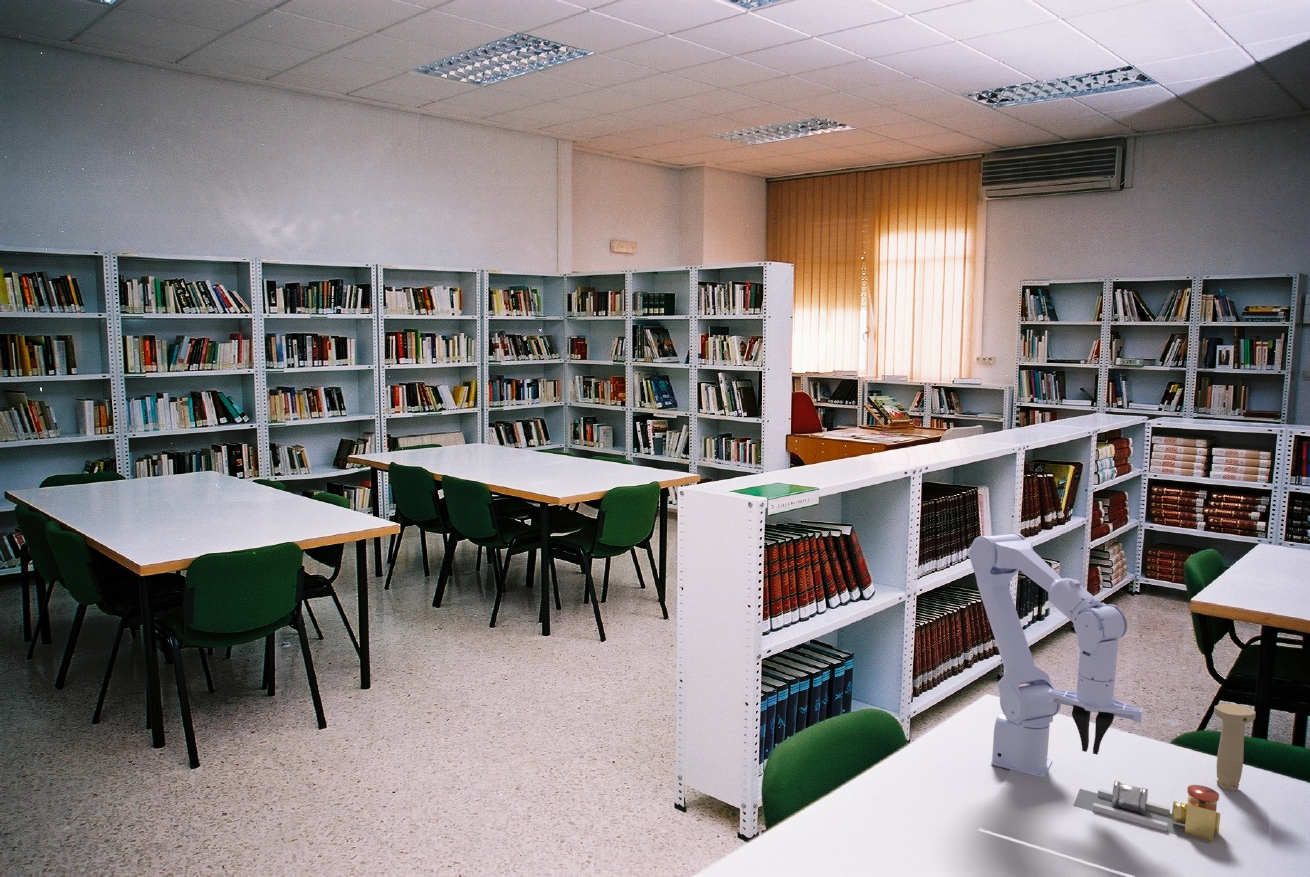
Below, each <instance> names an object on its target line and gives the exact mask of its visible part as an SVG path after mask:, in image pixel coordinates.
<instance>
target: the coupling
mask: <svg viewBox="0 0 1310 877" xmlns="http://www.w3.org/2000/svg"><path fill="white" fill-rule="evenodd" d="M1112 792H1113V794H1112V806H1113V807H1116V808H1117V807H1120V808H1124V809H1127V810H1131V811H1134V812H1138V813H1139V814H1142V815H1145V814H1146V807H1147V801H1148V797H1149V788H1145V787H1142V788H1141V787H1137V786H1134V785H1130V784H1127V783H1123V782H1121V781H1119V780H1114V783H1113V788H1112Z"/></svg>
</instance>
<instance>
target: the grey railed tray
mask: <svg viewBox="0 0 1310 877" xmlns="http://www.w3.org/2000/svg"><path fill="white" fill-rule="evenodd" d="M1112 794H1113V791H1109V790H1107V789H1102V788H1098V790H1097V792H1095V791H1091V790H1087V789H1082V788H1079V790H1078V793H1077V795H1076V798H1075V801H1074V803H1073V806H1074V807H1077V808H1081V809H1083V810H1087V811H1091V812H1095V813H1097V814H1101V815H1105V816H1109V817H1111V818H1116V819H1119V820H1123V821H1127V822H1131V823H1134V824H1137V825H1141V826H1144V827H1148V828H1151V829H1155V830H1157V831H1162V832H1165V833H1170V834H1173V835H1177V836H1180V837H1183V838H1187V839H1191V840H1194V841H1198V842H1202V843H1205V844H1209V845H1210V842H1211V841H1208V840H1204V839H1200V838H1197V837H1193V836H1190V835H1186V834H1184V833H1185V824H1181V823H1177V822H1174V821H1172V812H1171V807H1170V806H1166V805H1161V804H1158V803H1155V802H1151V801H1148V800H1147V807H1146V814H1145V815H1142V814H1139V813H1138V812H1134V811H1131V810H1127V809H1124V808H1120V807H1117V808H1116V807H1113V806H1112Z"/></svg>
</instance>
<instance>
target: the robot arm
mask: <svg viewBox="0 0 1310 877" xmlns="http://www.w3.org/2000/svg"><path fill="white" fill-rule="evenodd" d="M968 556H969V559H970V560H969V561H970V563H971V566H972V569H973V573H974V575H975V579H976V585H977V589H978V590H979V594H980V597H981V601H982V603H983V607H984V610H985V612H986V617H987V619H988V621H989V625H990V628H991V631H992V635H993V637H994V640H995V643H996V647H997V649H998V652H999V655H1000V658H1001V661H1002V662H1001V663H1002V665H1003V667H1004V671H1005V672H1004V675H1003V676H1002V677H1001V679H1000V680H999V681H998V683H997V688H998V691H999V705H1000V709H1001V711H1002V712H999V713H998V714H997V716H996V719H995V723H994V729H993V739H992V740H993V741H992V742H993V743H992V756H991V757H992V758H991V763H990V764H991V765H992V766H996V767H999V768H1004V769H1007V770H1013V771H1017V772H1021V773H1025V774H1028V775H1032V776H1035V777H1039V778H1043V779H1044V778H1045V777H1046V776H1047V774H1048V772H1049V769H1050V767H1051V765H1052V763H1053V760H1052V759H1050V758H1048V752H1049V739H1050V726H1051V723H1052V722H1054V717H1055V716H1056V715H1058V714H1059V712H1060V711H1061V706H1062V705H1066V706H1070V707H1072V710H1071V716H1072V719H1073V721H1074V723H1075V726H1076V727H1077V731H1078V734H1079V738H1080V742H1081V751H1082V752H1085V753H1087V752H1088V749H1089V743H1090V719H1091V713H1097V714H1096V717H1095V727H1094V728H1095V731H1094V733H1095V734H1094V741H1093V747H1092V755H1098V754H1099V751H1100V746H1101V742H1102V740H1103V738H1104V736H1105V734H1106V733H1107V731H1108V730H1109V728H1110V727H1111V725H1112V724H1113V721H1114V719H1115V717H1118V718H1123V719H1127V720H1131V721H1133V723H1139V724H1141V723H1142V720H1143V709H1144V708H1142V707H1139V706H1138V707H1137V706H1134V705H1131V704H1128V703H1125V702H1123V701H1119V700H1116V699H1114V697H1115V685H1116V684H1115V683H1116V672H1117V662H1118V661H1117V659H1118V649H1119V648H1118V647H1119V639H1121V638H1123V637H1125V635H1126V633H1127V631H1128V621H1127V618H1126V615H1125V613H1123V611H1122V610H1121V609H1120V608H1119V607H1118V606H1117V605H1115V604H1106V603H1104V602H1101V600H1100V598H1098V597H1095V596H1094V595H1092V593H1090V592H1089V591H1088V590H1086V588H1084V587H1083V586H1081V584H1082V583H1081V582H1080V581H1079V579H1073V578H1070V577H1065V578H1062V577H1061V576H1060V575H1059V574H1058V573H1057V572H1056V571H1055V570H1054V569H1053V568H1052V567H1051V566H1050V565H1049V564H1048V563H1047V562H1046V561H1045V560H1044V559H1043V558H1042V557H1041V556H1040V555H1039V554H1038V553H1037V552H1036V551H1034V546H1033V543H1032V542H1031V541H1030V540H1028V539H1027V538H1026V537H1025V536H1023V534H1022V533H1017V532H1012V533H1010V534H999V535H988V536H986V535H979V536H977V537H975V538H974V540H973V541H972V543H971V546H970V549H969V551H968ZM1019 571H1020V572H1022V574H1024V575H1025V576H1027V577H1028V578H1029V579H1030V580H1032V581H1033V582H1034V583H1036V584H1037V585H1039V587H1041V588H1042V589H1044V590H1045V591H1046V592H1047V593H1048V594H1047V597H1048V601H1049V603H1050V604H1051V605H1052V606H1054V607H1055V609H1057V610H1058V611H1060V613H1062V614H1063V615H1064V616H1065V617H1066V618H1067V619H1068V620H1070V621H1071V622H1072V623H1073V628H1074V632H1075V633H1076V635H1077V645H1078V649H1079V657H1078V668H1077V670H1078V672H1077V682H1076V691H1071V690H1061V689H1057V688H1056V687H1055V686H1054V684H1053V683H1052V681H1051V678H1050V675H1049V674H1048V673H1047V672H1045V671H1044V670H1042V669H1041V668H1040V667H1038V666H1036V664H1035V661H1034V658H1033V655H1032V653H1031V650H1030V648H1029V643H1028V641H1027V638H1026V635H1025V632H1024V629H1023V626H1022V623H1021V621H1020V617H1019V614H1018V612H1017V608H1016V606H1015V602H1014V599H1013V597H1012V593H1011V590H1010V588H1009V585H1010V582H1011V580H1012V579H1014V578H1015V576H1016V575H1017V574H1018V573H1019ZM1024 684H1026V685H1024ZM1020 685H1022V686H1020Z"/></svg>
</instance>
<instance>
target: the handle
mask: <svg viewBox="0 0 1310 877" xmlns="http://www.w3.org/2000/svg"><path fill="white" fill-rule="evenodd" d="M1213 712H1214V715H1215V716H1217V717H1218V718H1219V719H1221V720H1222V726H1221V730H1220V731H1221V732H1220V738H1219V744H1218V750H1217V755H1216V756H1217V757H1216V778H1217V779H1216V786H1217V787H1219V788H1220V789H1222V790H1224V791H1230V792H1236V791H1237V790H1239V786H1240V784H1239V783H1240V780H1241V778H1242V772H1243V767H1244V749H1245V748H1244V747H1245V746H1244V743H1245V726H1246V724H1249V723H1251V722H1253V721H1254V720H1256V711H1255V709H1252V708H1250V707H1247V706H1245V705H1242V704H1235V703H1234V704H1233V703H1222V704H1221V703H1220V704H1217V705H1214V709H1213Z"/></svg>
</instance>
